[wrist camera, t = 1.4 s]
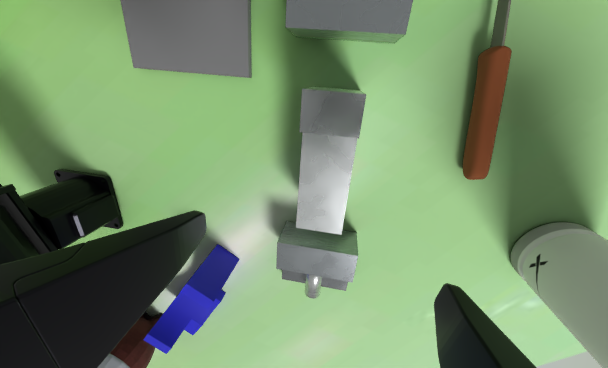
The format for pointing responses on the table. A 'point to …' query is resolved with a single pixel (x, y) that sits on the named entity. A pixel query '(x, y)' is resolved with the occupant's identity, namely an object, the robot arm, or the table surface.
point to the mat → (190, 35)
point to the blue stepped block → (194, 300)
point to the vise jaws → (339, 26)
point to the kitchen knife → (487, 99)
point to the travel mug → (569, 279)
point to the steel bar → (327, 155)
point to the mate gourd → (133, 346)
